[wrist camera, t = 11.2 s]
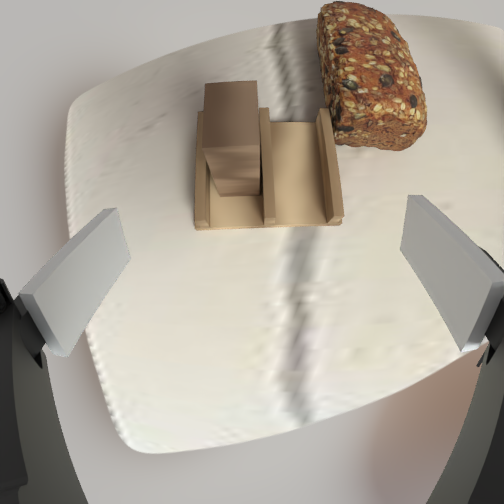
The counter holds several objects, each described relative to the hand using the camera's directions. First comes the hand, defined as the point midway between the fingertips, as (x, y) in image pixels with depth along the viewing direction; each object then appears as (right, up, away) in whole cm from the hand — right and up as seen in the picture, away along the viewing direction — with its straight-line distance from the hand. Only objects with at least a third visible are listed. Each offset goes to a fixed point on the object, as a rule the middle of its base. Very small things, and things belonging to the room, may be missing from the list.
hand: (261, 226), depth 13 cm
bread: (+13, +20, +21) cm, 32 cm away
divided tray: (+1, +7, +19) cm, 21 cm away
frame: (-2, +8, +18) cm, 20 cm away
